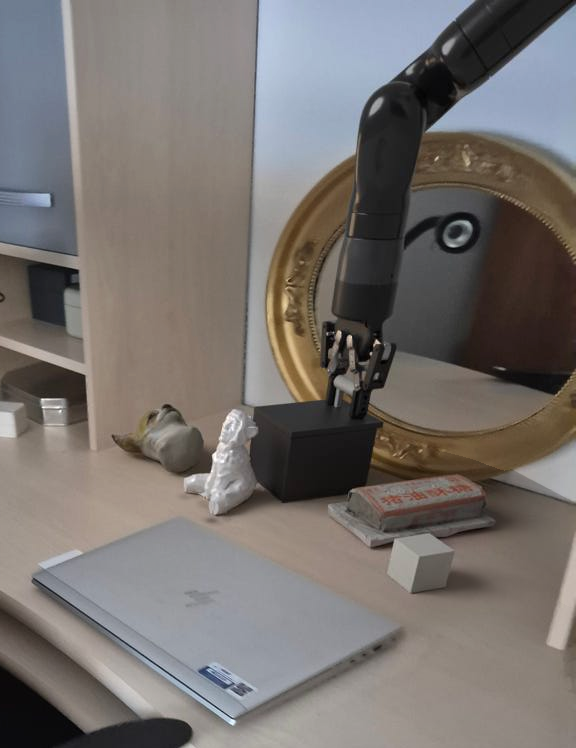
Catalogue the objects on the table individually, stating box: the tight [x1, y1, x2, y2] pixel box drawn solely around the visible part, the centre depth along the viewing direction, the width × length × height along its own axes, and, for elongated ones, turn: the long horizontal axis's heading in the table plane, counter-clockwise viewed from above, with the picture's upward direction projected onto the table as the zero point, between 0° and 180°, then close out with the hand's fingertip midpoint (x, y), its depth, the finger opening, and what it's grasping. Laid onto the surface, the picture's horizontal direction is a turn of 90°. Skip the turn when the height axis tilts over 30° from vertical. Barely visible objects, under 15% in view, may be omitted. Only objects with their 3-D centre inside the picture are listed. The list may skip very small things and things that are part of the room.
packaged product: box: [327, 473, 496, 548], centre depth 104 cm, size 18×5×10 cm
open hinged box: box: [248, 412, 378, 504], centre depth 114 cm, size 13×11×9 cm
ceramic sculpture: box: [110, 403, 205, 473], centre depth 121 cm, size 11×9×15 cm
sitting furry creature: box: [183, 408, 258, 516], centre depth 109 cm, size 10×9×12 cm
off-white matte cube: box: [386, 533, 456, 594], centre depth 92 cm, size 4×4×4 cm
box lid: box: [253, 375, 384, 438], centre depth 110 cm, size 13×11×5 cm
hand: (344, 410), depth 112 cm, fingers closed on box lid, 5 cm apart
